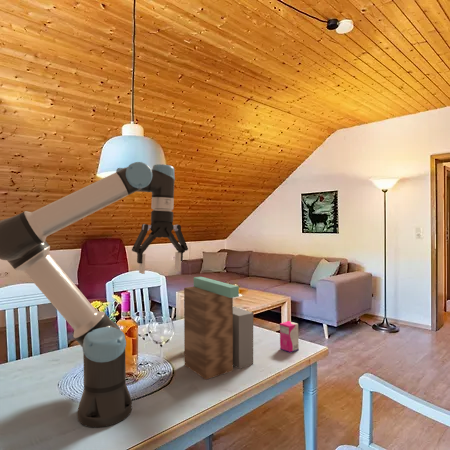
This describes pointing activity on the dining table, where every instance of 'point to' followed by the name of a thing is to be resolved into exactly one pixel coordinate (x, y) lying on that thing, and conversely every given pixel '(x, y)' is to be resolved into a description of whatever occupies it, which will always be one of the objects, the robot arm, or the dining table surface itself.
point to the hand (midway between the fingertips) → (160, 272)
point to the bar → (216, 287)
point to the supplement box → (289, 336)
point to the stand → (208, 332)
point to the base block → (242, 338)
